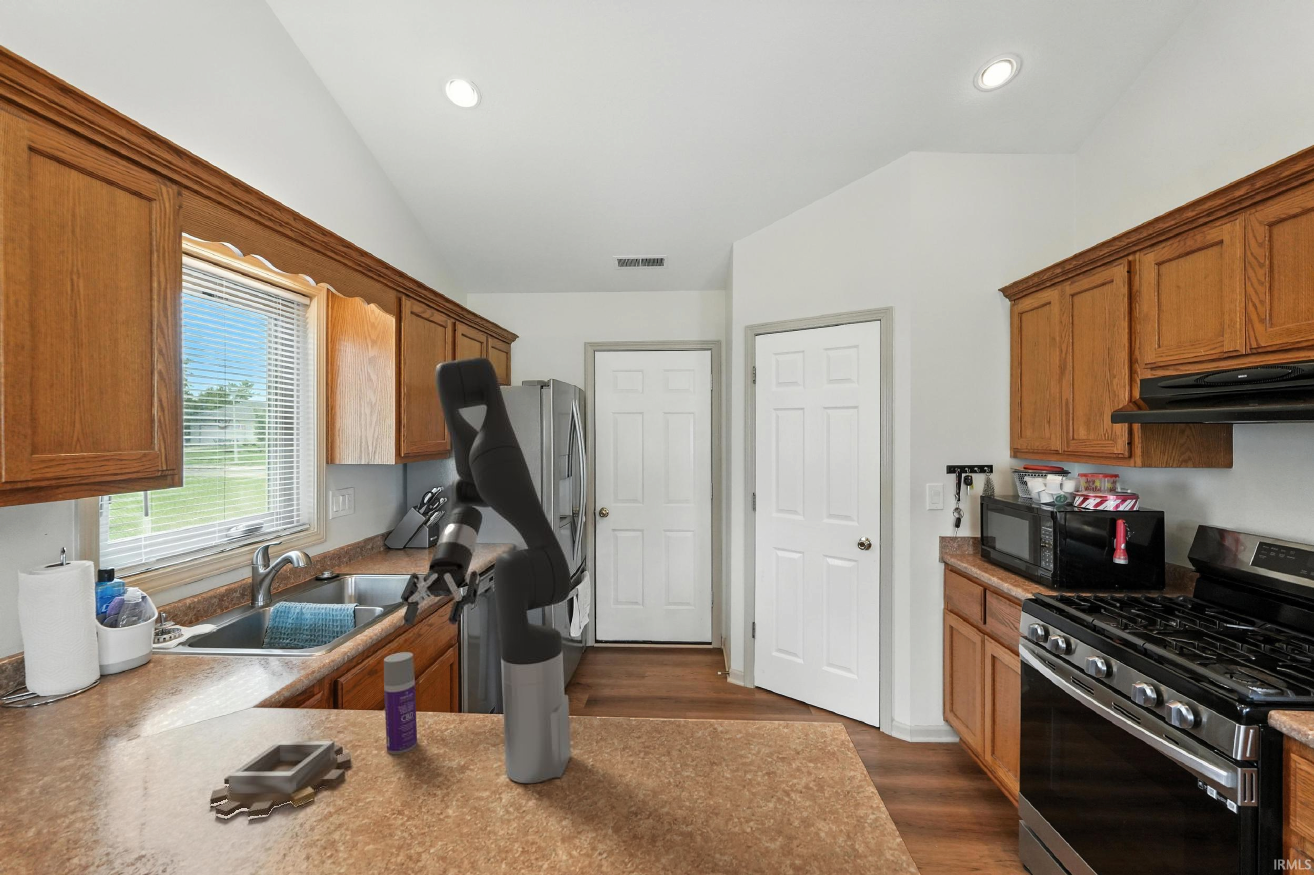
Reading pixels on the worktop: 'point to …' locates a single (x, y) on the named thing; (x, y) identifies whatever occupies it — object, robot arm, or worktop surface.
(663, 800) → the worktop surface
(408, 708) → the container
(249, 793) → the sprocket
